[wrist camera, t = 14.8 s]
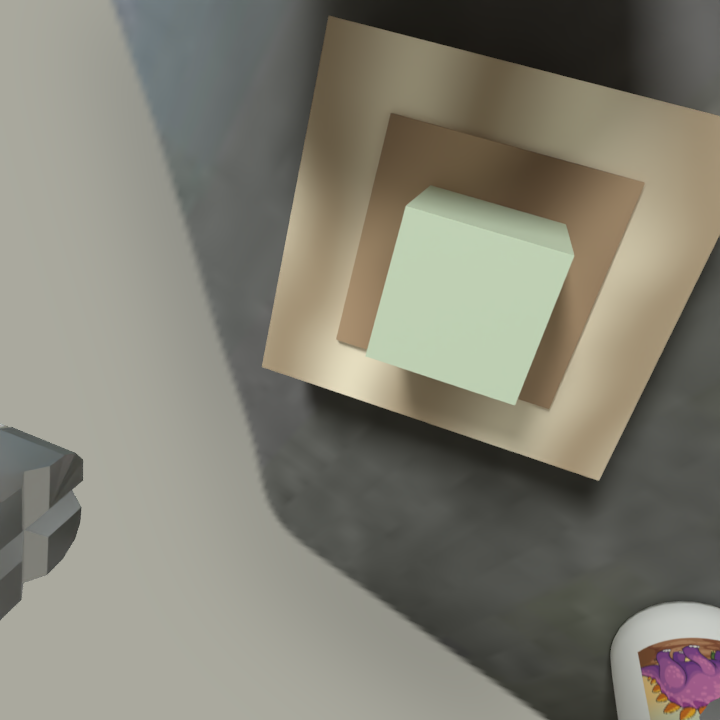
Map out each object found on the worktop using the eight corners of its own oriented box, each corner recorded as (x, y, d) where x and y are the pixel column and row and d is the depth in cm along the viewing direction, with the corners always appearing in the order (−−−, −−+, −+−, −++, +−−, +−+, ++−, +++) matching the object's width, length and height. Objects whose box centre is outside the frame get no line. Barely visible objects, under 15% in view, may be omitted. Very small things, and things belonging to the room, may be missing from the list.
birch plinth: (727, 124, 25) (774, 130, 20) (588, 424, 30) (599, 484, 26) (363, 29, 26) (325, 14, 22) (299, 329, 32) (259, 369, 28)
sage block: (566, 224, 22) (574, 255, 18) (518, 349, 24) (514, 405, 20) (430, 185, 23) (405, 205, 18) (395, 310, 25) (365, 356, 21)
